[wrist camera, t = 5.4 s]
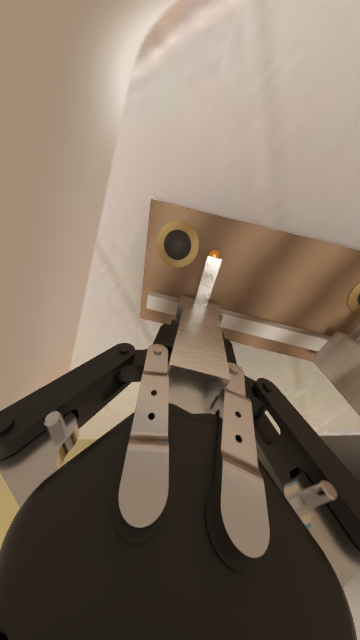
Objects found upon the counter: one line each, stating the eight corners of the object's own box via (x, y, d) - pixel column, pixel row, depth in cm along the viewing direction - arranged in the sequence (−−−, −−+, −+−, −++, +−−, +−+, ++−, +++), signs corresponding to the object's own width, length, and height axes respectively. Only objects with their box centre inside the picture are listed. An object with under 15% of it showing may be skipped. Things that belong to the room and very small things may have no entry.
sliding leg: (237, 254, 14) (297, 294, 5) (208, 331, 18) (214, 425, 9) (193, 243, 14) (177, 264, 5) (175, 322, 18) (149, 408, 9)
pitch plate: (405, 264, 15) (680, 307, 6) (320, 356, 21) (401, 442, 12) (155, 202, 15) (92, 161, 6) (143, 312, 21) (103, 366, 12)
